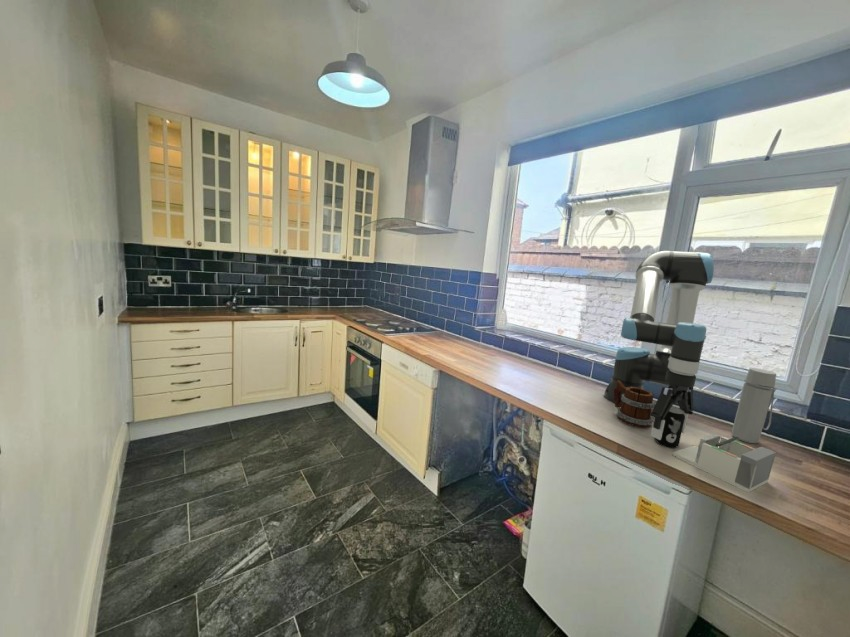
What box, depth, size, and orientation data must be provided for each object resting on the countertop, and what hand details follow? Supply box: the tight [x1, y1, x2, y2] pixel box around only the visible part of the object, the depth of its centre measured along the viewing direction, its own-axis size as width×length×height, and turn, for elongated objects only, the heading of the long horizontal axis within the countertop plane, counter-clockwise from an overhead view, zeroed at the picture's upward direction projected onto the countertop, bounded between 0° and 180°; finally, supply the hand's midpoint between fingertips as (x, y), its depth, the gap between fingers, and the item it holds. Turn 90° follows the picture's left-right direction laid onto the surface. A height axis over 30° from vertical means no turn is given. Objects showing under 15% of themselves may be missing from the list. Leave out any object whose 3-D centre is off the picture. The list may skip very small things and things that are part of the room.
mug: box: [614, 380, 656, 429], centre depth 126 cm, size 12×14×15 cm
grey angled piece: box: [696, 433, 739, 461], centre depth 98 cm, size 12×7×8 cm, turn 117°
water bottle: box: [731, 367, 778, 444], centre depth 116 cm, size 9×8×25 cm
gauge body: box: [672, 436, 777, 493], centre depth 97 cm, size 12×18×9 cm, turn 27°
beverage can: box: [654, 405, 685, 449], centre depth 110 cm, size 7×7×12 cm
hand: (667, 434), depth 110 cm, fingers open, 13 cm apart
